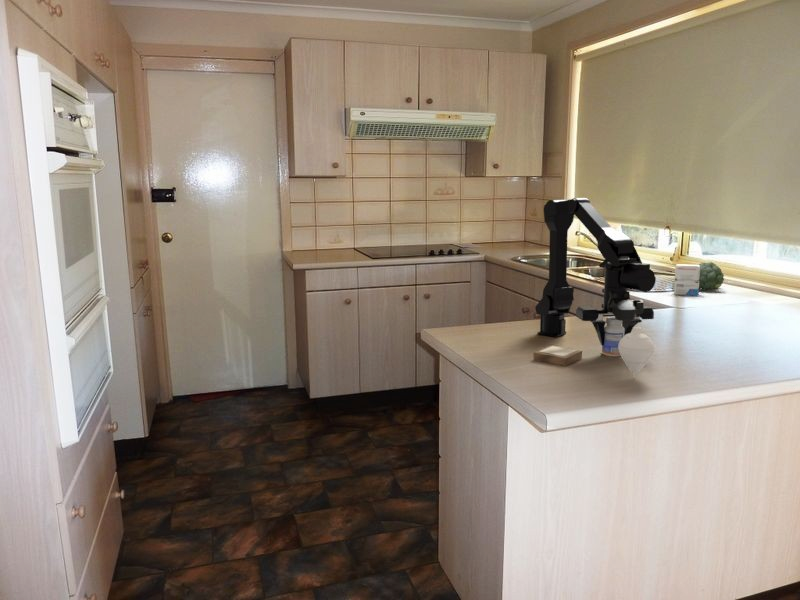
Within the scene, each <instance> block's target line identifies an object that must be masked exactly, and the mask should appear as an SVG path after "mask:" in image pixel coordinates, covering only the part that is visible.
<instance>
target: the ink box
mask: <svg viewBox="0 0 800 600" xmlns="http://www.w3.org/2000/svg"><path fill="white" fill-rule="evenodd" d="M674 270H675V271H674V289H673V290H674V291H673V294H674V295H679V296H693V297H694V296H695V297H697V296H698V295H699V290H700V289H699V276H700V265H699V264H684V263H682V264H680V263H677V264H676V265H675V268H674Z"/></svg>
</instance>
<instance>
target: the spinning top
mask: <svg viewBox="0 0 800 600" xmlns="http://www.w3.org/2000/svg"><path fill="white" fill-rule="evenodd" d="M654 347H655V345H654V343H653V341H652V339H651V338H650V337H649V336H648V335H646V334H644V333H643V332H642V327H641V326H634V327H633V329H632V332H631V333H628V334H626V335H625V336H624V337H623V338H622V339H621V340H620V342H619V345H618V349H619V353H620V355H621V356H620V357H621V358H622V361H623V362H624V363H625V365H626V368H628V369H629V371H630V372H631V373H632V375H633V379H635V378H636V374H638V373H639V372H640V371H641V370H642V369H643V368H644V367H645V366H646V364H647V363H648V362H649V361H650V359H651V358H652V356H653V354H654V350H655V348H654Z"/></svg>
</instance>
